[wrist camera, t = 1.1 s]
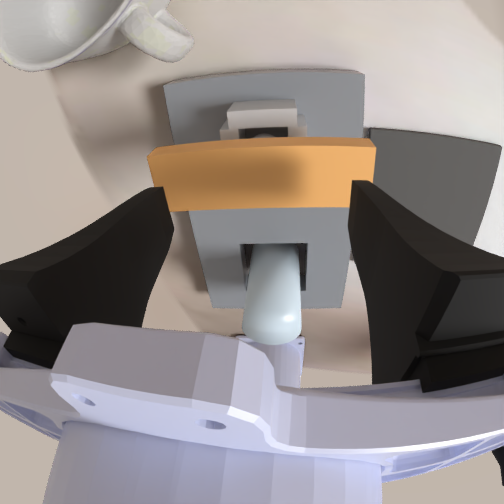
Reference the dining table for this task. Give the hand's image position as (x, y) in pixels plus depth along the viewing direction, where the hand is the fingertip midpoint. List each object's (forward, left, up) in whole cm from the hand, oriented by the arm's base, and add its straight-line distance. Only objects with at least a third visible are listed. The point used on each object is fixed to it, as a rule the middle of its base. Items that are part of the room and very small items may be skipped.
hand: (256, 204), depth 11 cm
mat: (-6, -13, -10) cm, 18 cm away
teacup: (+11, +8, -11) cm, 17 cm away
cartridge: (-11, 0, -10) cm, 15 cm away
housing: (-6, 0, -10) cm, 12 cm away
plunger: (0, 0, -6) cm, 6 cm away
